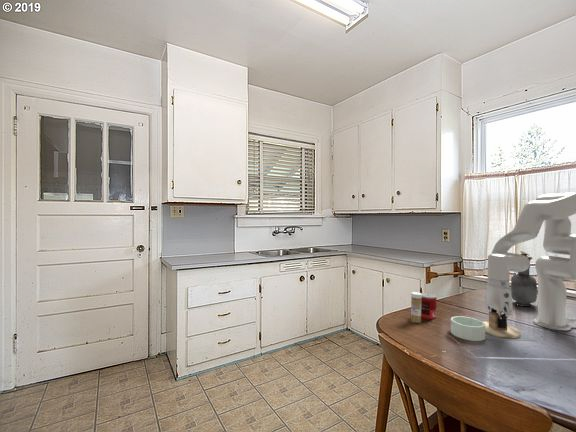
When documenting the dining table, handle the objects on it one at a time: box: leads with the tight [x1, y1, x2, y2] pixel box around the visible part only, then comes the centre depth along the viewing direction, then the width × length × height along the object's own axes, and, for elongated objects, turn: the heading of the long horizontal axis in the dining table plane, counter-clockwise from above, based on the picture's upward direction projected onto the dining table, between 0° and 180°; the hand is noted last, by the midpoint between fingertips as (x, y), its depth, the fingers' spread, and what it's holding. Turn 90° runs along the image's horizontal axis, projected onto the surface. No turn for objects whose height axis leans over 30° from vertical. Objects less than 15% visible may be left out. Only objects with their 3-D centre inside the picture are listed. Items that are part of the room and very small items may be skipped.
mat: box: [485, 331, 537, 342], centre depth 122 cm, size 18×18×1 cm
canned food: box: [420, 292, 438, 321], centre depth 140 cm, size 8×8×11 cm
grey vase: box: [510, 250, 538, 307], centre depth 161 cm, size 11×19×30 cm, turn 145°
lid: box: [483, 312, 521, 339], centre depth 122 cm, size 15×15×7 cm
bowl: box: [450, 315, 486, 342], centre depth 119 cm, size 12×12×6 cm
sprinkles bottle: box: [410, 291, 422, 324], centre depth 134 cm, size 5×5×14 cm
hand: (497, 325), depth 122 cm, fingers closed on lid, 4 cm apart
